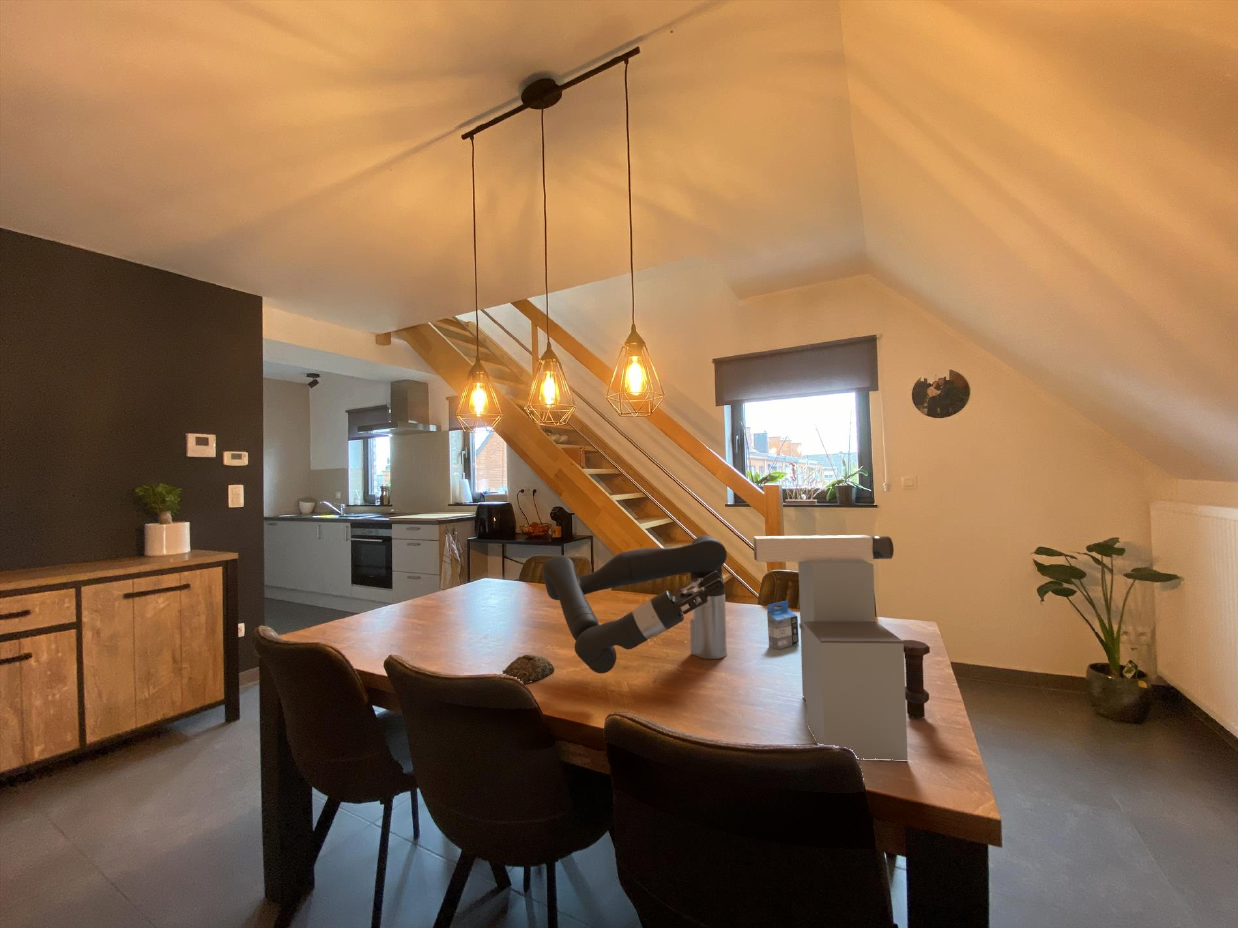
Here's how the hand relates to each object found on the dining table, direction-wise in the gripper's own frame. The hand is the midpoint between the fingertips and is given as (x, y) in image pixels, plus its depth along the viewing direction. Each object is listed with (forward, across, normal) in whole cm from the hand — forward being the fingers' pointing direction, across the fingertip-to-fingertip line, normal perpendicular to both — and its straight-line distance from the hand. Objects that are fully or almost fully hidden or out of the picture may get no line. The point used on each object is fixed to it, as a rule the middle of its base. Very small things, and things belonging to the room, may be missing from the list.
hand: (720, 578), depth 113 cm
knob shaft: (+21, 0, +7) cm, 22 cm away
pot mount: (+6, -7, +36) cm, 37 cm away
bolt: (+20, -3, +44) cm, 48 cm away
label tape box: (+4, +41, +35) cm, 54 cm away
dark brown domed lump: (-57, +17, 0) cm, 60 cm away
